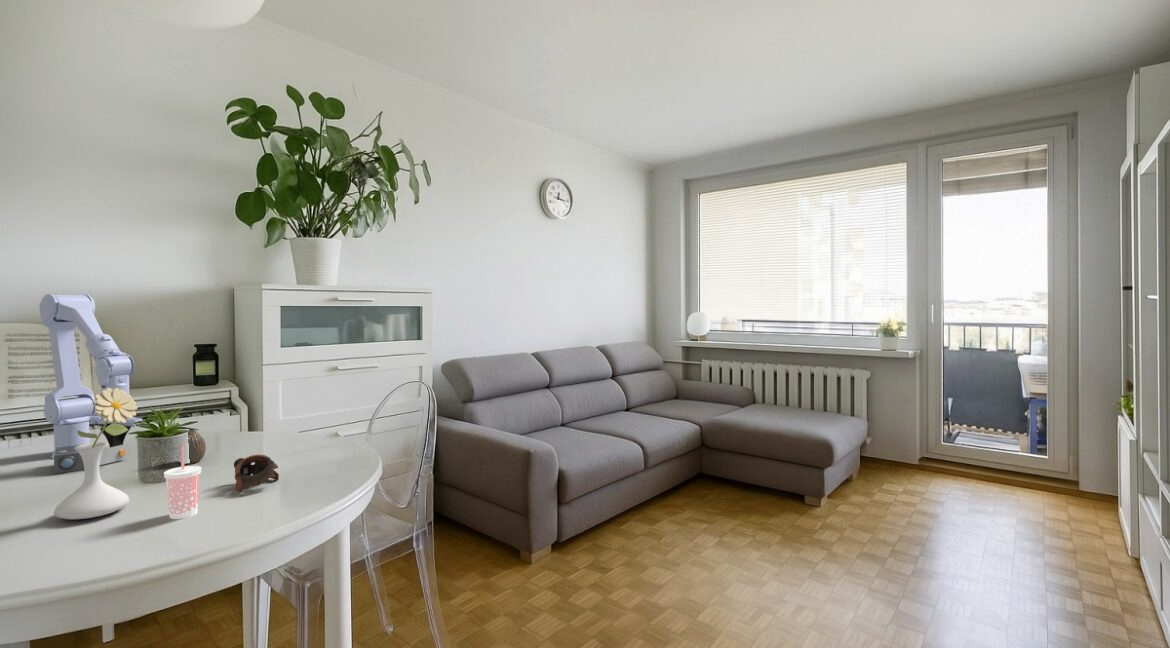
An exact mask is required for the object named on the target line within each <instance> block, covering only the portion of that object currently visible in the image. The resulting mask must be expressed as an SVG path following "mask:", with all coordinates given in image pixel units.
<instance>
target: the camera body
mask: <svg viewBox="0 0 1170 648" xmlns="http://www.w3.org/2000/svg"><path fill="white" fill-rule="evenodd" d="M82 445H84V444H82ZM76 446H79V445H74V446H65V447H57V448H56V451H55V454H54V458H53V462H54V463H53V464H54V465H53V467H54V468H53V469H54V471H53V472H54V473H58V474H65V473H70V472H69V471H72V472H78V471H77V470H79V471H83V470H82V469H84V463H83V460H82V457H81V455H80V454H79V452H78V451H77V450H75V447H76ZM64 472H65V473H64Z"/></svg>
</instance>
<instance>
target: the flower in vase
mask: <svg viewBox="0 0 1170 648" xmlns="http://www.w3.org/2000/svg"><path fill="white" fill-rule="evenodd" d="M102 394H103V395H102ZM102 394H101V393H97V394H96V395H95V396H94V398H95V399H94V401H95V402H96V403H94V406H95V412H96V414H97V415H98V416H100V417H103V420H104V421H105V423H104V424H103V427H101V428H102V430H101V431H100V432H99V433H98V434H96V433H90V432H89V433H85V432H81V431H79V430H78V431H77V432H78V435H79V436H81V437H86V438H90V439H95V440H94V442H92V443H91V442H90V444H84V445H79V446H76V447H75V450H77V451H78V452H79V454H80V455H81V457H82V460H83V463H84V470H83V471H84V478H83V481H82V484H81V485H80V486H79V487H78V488H77V489H76V490H75V491H73V492H72V493H71V494H69V495H68V496H67V497H65V498H64V499H63V500H62V501H61V502H59V504H58V505H56V507H55V508H54V511H53V514H54V515H55V517H56V518H58V519H62V520H85V519H91V518H97V517H102V516H104V515H108V514H111V513H114V512H116V511H119V510H120V509H122V508H125V507H126V506H127V505H128V504H129V502H130V497H129V496H128V494H127V493H125V492H123V491H122V490H120V489H118V488H115V487H113V486H112V485H109V484H107V483H105V482H104V481H103V480H102V478H101V475H100V474H101V473H100V466H101V465H100V458H101V455H102V452H103V450H104V449H105V448H107V446H109V443H107V442H98V441H99V439H100V437H101V436H102V434H103V433H102V432H103V431H104V430H105V431H106V432H107V433H109V434H110V435H113V436H116V435H120V434H122V433H124V432H126V431H127V430H128V429H127V428H126V427H124V426H123V425H120V424H116V422H117V423H126V422H127V421H128V420H127V418H128V419H132V418H133V417H136V416H137V412H136V411H137V410H138V406H137V403H136V401H135V400H134V399H133V396H132V395H130V394H129V395H126V392H124V391H123V390H119V389H118V388H115V389H114V390H112V389H110V388H107V389H106V390H103V391H102ZM107 421H109V422H112V423H114V424H111V425H109V426H107V427H106V423H107ZM105 427H106V428H105Z"/></svg>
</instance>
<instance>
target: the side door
mask: <svg viewBox="0 0 1170 648" xmlns="http://www.w3.org/2000/svg"><path fill="white" fill-rule="evenodd" d="M127 459H128V458H127V443H126V444H124V443H123V445H119V446H114V447H110V446H109V447H105V449H104V450H103V452H102V455H101V458H100V466H103V465H106V464H111V463H115V462H119V461H123V460H127Z"/></svg>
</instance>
